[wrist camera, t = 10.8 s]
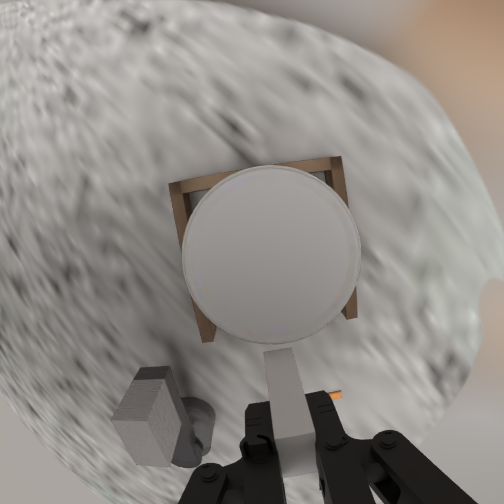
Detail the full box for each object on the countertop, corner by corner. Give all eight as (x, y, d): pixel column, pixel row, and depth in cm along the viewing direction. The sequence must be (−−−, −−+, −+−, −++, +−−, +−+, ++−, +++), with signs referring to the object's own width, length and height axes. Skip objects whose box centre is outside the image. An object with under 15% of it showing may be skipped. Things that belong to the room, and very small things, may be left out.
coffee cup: (193, 259, 27) (144, 279, 15) (254, 171, 27) (249, 126, 15) (280, 319, 27) (292, 380, 15) (341, 233, 27) (398, 235, 15)
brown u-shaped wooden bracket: (206, 330, 29) (202, 342, 27) (175, 183, 26) (168, 183, 24) (349, 307, 29) (357, 317, 26) (333, 158, 26) (341, 156, 24)
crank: (207, 455, 27) (199, 509, 20) (174, 455, 27) (161, 507, 20) (174, 365, 24) (151, 421, 17) (136, 367, 24) (106, 419, 17)
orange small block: (319, 400, 31) (320, 402, 31) (319, 395, 31) (320, 396, 31) (340, 396, 31) (341, 398, 31) (340, 390, 31) (341, 392, 31)
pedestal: (179, 429, 32) (171, 457, 27) (166, 398, 31) (155, 427, 26) (219, 427, 32) (215, 457, 27) (209, 395, 31) (203, 426, 26)
